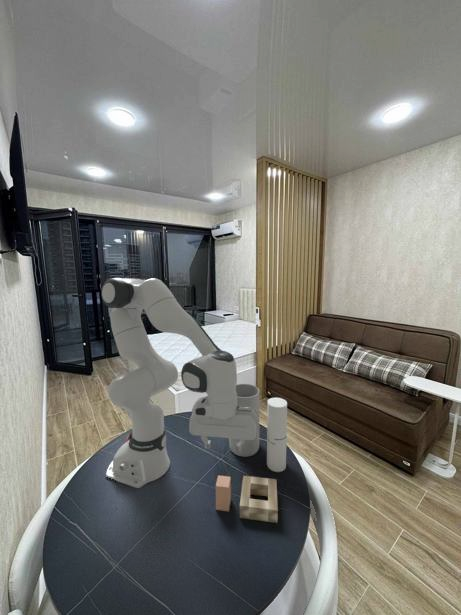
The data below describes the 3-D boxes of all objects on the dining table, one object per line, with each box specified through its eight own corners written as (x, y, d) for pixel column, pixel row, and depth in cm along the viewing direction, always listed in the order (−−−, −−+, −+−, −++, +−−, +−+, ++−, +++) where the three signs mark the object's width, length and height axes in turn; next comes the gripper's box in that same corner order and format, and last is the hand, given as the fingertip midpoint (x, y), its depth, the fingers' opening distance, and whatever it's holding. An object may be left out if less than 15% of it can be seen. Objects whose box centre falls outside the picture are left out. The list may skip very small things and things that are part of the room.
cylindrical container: (286, 473, 87) (287, 408, 85) (266, 470, 89) (266, 406, 86) (285, 459, 94) (286, 398, 91) (267, 456, 96) (267, 396, 93)
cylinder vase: (265, 448, 101) (265, 391, 98) (243, 462, 93) (243, 401, 90) (244, 433, 110) (244, 381, 107) (223, 445, 102) (222, 389, 99)
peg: (215, 509, 74) (215, 485, 73) (218, 498, 78) (218, 475, 77) (228, 511, 73) (228, 487, 72) (230, 499, 77) (230, 476, 76)
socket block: (239, 517, 71) (239, 505, 71) (243, 486, 82) (243, 475, 82) (277, 523, 70) (277, 510, 69) (276, 490, 80) (276, 479, 80)
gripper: (257, 402, 73) (257, 444, 75) (193, 398, 76) (194, 439, 78) (257, 413, 67) (257, 459, 69) (186, 409, 70) (188, 453, 72)
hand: (223, 448), depth 73 cm, fingers open, 8 cm apart
